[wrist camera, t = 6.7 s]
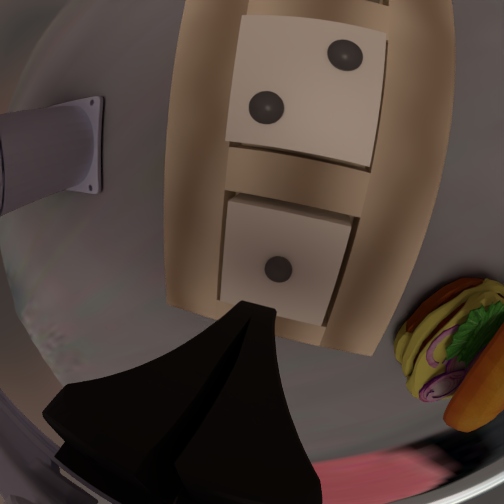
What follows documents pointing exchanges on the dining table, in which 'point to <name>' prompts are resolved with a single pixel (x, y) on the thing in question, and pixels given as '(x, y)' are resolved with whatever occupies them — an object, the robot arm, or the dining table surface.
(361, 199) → the tile board
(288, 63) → the two dot tile
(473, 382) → the cheeseburger
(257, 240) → the one dot tile
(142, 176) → the dining table surface
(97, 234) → the dining table surface
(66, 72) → the dining table surface
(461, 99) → the dining table surface
